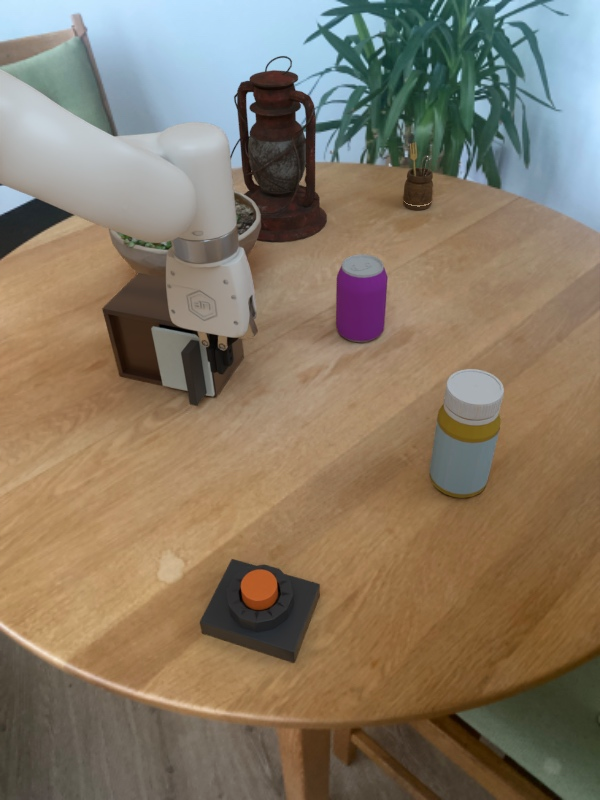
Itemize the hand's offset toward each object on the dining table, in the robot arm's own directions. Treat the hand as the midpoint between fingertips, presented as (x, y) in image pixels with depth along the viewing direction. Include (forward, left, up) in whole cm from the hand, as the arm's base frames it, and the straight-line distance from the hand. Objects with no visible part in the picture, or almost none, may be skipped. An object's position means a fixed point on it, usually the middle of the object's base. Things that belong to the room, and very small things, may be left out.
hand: (221, 367), depth 88 cm
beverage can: (+12, +24, -8) cm, 29 cm away
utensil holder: (+11, +72, -8) cm, 74 cm away
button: (+16, -28, -4) cm, 32 cm away
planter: (-20, +29, -8) cm, 36 cm away
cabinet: (-11, +7, -8) cm, 15 cm away
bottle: (+32, -3, -8) cm, 33 cm away
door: (-7, 0, -7) cm, 10 cm away
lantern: (-14, +57, -8) cm, 60 cm away
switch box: (+16, -28, -8) cm, 33 cm away
